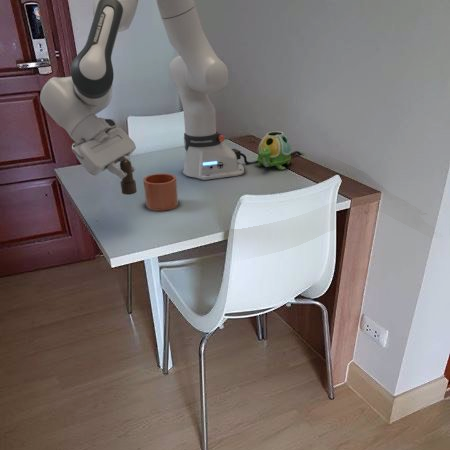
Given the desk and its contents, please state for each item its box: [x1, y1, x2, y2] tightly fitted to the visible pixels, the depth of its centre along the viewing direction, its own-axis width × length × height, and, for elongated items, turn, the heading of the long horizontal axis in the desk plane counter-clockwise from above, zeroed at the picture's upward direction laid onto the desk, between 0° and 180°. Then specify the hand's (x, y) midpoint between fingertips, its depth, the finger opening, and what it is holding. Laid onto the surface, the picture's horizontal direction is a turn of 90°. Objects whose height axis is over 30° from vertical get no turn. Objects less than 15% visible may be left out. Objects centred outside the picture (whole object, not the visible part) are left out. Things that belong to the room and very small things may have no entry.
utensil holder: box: [143, 173, 179, 212], centre depth 152 cm, size 10×10×8 cm
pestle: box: [119, 159, 138, 196], centre depth 131 cm, size 4×4×9 cm
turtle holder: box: [256, 130, 292, 171], centre depth 181 cm, size 12×18×12 cm
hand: (129, 174), depth 131 cm, fingers closed on pestle, 3 cm apart
